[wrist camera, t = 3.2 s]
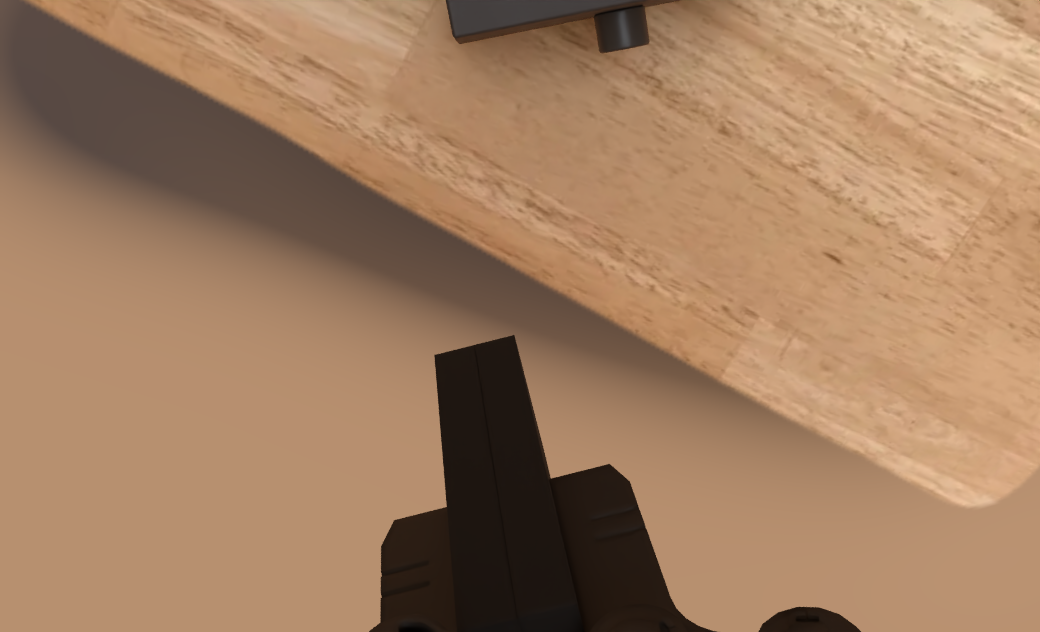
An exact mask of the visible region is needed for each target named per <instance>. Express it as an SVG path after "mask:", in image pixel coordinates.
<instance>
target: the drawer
mask: <svg viewBox="0 0 1040 632" xmlns="http://www.w3.org/2000/svg"><path fill="white" fill-rule="evenodd" d="M674 1H679V0H446V4H447V9H448V14H449V19H450V24H451V29H452V34H453V37H454V38H455V39H456V41H457V42H458V43H459V44H462V43H467V42H472V41H477V40H482V39H487V38H492V37H497V36H502V35H507V34H512V33H517V32H522V31H527V30H532V29H537V28H543V27H548V26H553V25H558V24H563V23H568V22H573V21H578V20H583V19H588V18H593V17H594V22H595V28H596V34H597V40H598V46H599V52H600V53H608V52H613V51H618V50H624V49H629V48H634V47H639V46H643V45H647V44H649V35H648V28H647V21H646V14H645V7H649V6H654V5H659V4H664V3H669V2H674Z"/></svg>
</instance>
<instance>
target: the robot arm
mask: <svg viewBox="0 0 1040 632" xmlns="http://www.w3.org/2000/svg"><path fill="white" fill-rule="evenodd" d="M435 367H436V380H437V391H438V404H439V416H440V428H441V441H442V452H443V465H444V478H445V490H446V501H447V507H445V508H442V509H438V510H433V511H429V512H425V513H422V514H418V515H413V516H410V517H405V518H402V519H398V520H394V522H393V524H392V526H391V528H390V530H389V532H388V534H387V536H386V538H385V540H384V542H383V544H382V546H381V573H382V577H381V595H382V598H381V623H379V624H378V625H377V626H376V627H374V628H373V629H372V630H370V631H369V632H716V631H711V630H708V629H706V628H703V627H700V626H698V625H696V624H694V623H693V622H691V621H689V620H688V619H686V618H685V617H684V616H683V615H682V614H681V613H680V612H679V611H678V610H677V609H676V607H675V605H674V603H673V602H672V599H671V598H670V595H669V592H668V589H667V586H666V583H665V580H664V578H663V575H662V572H661V569H660V566H659V564H658V561H657V558H656V555H655V552H654V549H653V547H652V544H651V541H650V538H649V535H648V532H647V530H646V528H645V524H644V521H643V518H642V515H641V513H640V510H639V507H638V504H637V501H636V498H635V495H634V493H633V490H632V487H631V484H630V481H628V480H627V479H626V478H625V477H624V476H623V475H622V474H620V473H619V472H618V471H617V470H616V469H615V468H614V467H612V466H611V465H610V464H608V465H604V466H600V467H596V468H592V469H588V470H584V471H580V472H576V473H572V474H568V475H564V476H560V477H556V478H552V479H551V478H550V474H549V470H548V466H547V461H546V457H545V453H544V449H543V445H542V441H541V437H540V433H539V430H538V426H537V422H536V418H535V414H534V410H533V406H532V402H531V398H530V395H529V391H528V387H527V383H526V379H525V375H524V371H523V367H522V363H521V360H520V356H519V352H518V348H517V344H516V340H515V336H514V335H513V336H509V337H505V338H501V339H497V340H493V341H489V342H485V343H481V344H477V345H473V346H469V347H465V348H461V349H457V350H453V351H449V352H445V353H441V354H437V355H435ZM759 632H861V631H860V630H859V629H858V628H857V627H856V626H855V625H853V624H852V623H851V622H849V621H848V620H846V619H845V618H844V617H842V616H841V615H839V614H837V613H834V612H831V611H828V610H825V609H822V608H816V607H815V608H814V607H796V608H792V609H789V610H785V611H782V612H778V613H777V614H776V615H774V616H773V617H771V618H770V619H769V620H767V621H766V622H765V623H763V624H762V626H761V628H760V630H759Z"/></svg>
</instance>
